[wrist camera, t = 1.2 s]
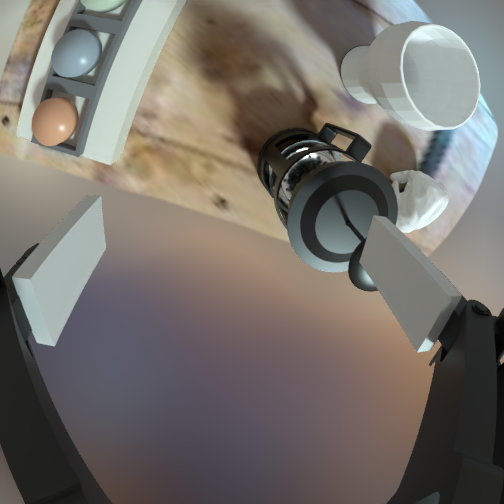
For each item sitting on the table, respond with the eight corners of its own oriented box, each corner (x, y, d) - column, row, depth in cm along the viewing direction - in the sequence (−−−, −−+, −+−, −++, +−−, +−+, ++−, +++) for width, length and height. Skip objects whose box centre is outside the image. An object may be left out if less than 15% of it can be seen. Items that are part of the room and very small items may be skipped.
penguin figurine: (461, 204, 31) (405, 273, 37) (428, 177, 38) (382, 238, 44) (435, 177, 29) (374, 255, 35) (402, 154, 36) (353, 220, 42)
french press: (301, 217, 40) (373, 347, 20) (239, 182, 37) (265, 304, 17) (352, 144, 36) (480, 219, 16) (292, 101, 32) (397, 125, 13)
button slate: (70, 29, 20) (62, 26, 18) (109, 36, 22) (102, 33, 20) (54, 72, 22) (44, 72, 20) (91, 81, 24) (83, 81, 22)
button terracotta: (47, 93, 23) (38, 94, 21) (84, 102, 25) (76, 103, 23) (36, 136, 25) (27, 140, 24) (71, 147, 27) (63, 151, 25)
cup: (317, 43, 29) (376, 20, 16) (390, 31, 28) (469, 18, 15) (343, 123, 34) (409, 147, 21) (411, 106, 33) (490, 126, 20)
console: (91, -26, 20) (74, -39, 16) (191, -8, 24) (187, -24, 20) (32, 129, 30) (9, 137, 25) (120, 157, 33) (105, 168, 29)
